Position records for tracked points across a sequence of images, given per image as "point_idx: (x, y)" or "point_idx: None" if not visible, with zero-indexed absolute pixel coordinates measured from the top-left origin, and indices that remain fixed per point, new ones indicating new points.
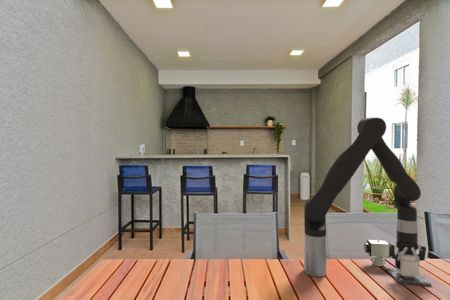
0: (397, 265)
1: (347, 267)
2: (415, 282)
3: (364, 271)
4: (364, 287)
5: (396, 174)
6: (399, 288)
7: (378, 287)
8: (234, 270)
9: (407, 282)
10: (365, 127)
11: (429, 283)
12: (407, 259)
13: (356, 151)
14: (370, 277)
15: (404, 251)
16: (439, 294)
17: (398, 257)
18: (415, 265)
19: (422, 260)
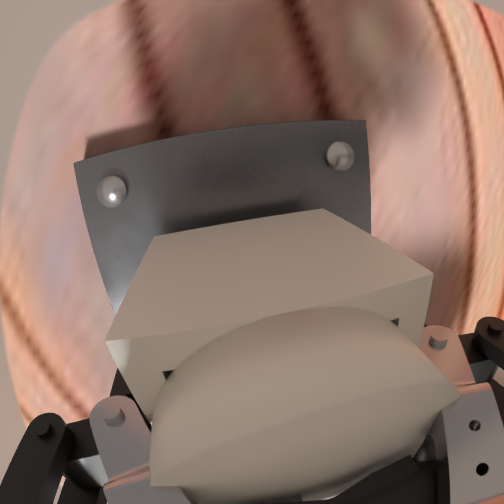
0: None
1: (499, 294)
2: (217, 130)
3: (468, 278)
4: (500, 72)
5: None
6: (368, 46)
7: (464, 65)
8: None
9: (293, 123)
10: None
11: (88, 160)
12: (372, 332)
13: None
14: (473, 198)
15: (468, 489)
16: (87, 26)
17: (458, 356)
18: (179, 290)
19: (55, 415)
